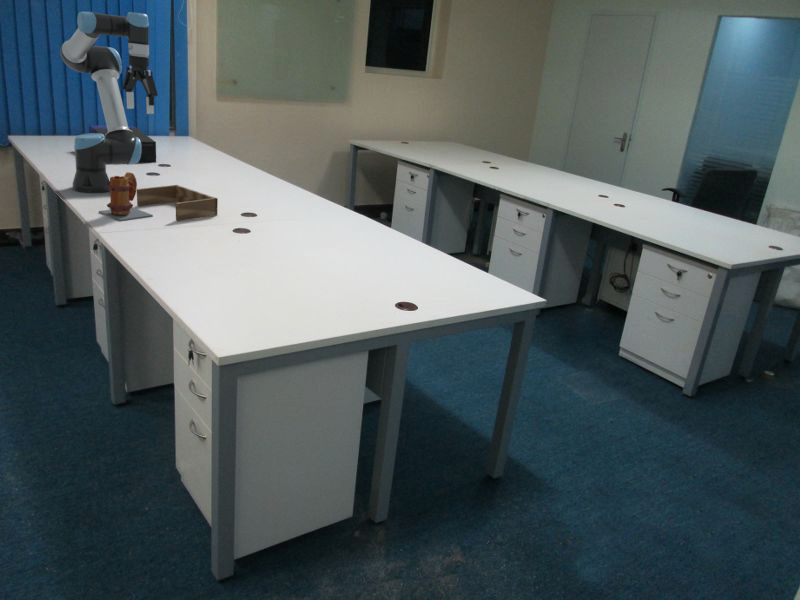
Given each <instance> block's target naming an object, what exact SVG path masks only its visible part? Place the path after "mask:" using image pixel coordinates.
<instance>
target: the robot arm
mask: <svg viewBox="0 0 800 600" xmlns="http://www.w3.org/2000/svg"><path fill="white" fill-rule="evenodd" d="M76 23H77V29H76V31H74V33H73V35H72V36H70V37H71V38H69V39H68V40H66V41H64V42H63V44H62V45H61V47H60V50H59V51H60V52H59V53H60V57H61V60H62V61H63V63H64V64H65V65H66V66H67V67H68V68H69V69H71V70H73V71H75V72H77V73H84V74H90V76H91V79H92V81H94V82H96V86H97V91H98V95H99V98H100V99H99V100H100V102H101V103H100V104H101V109H102V112H103V115H104V121H105V124H106V125H105V126H107V129H108V132H107V133H106V135H105V136H104V135H103V134H101V133H89V132H88V133H82V134H77V136H76V137H75V138H74V145H73V146H74V147H73V149H74V157H75V173H74V178H73V181H72V189H73V190H74V191H76V192H81V193H97V194H98V193H99V194H100V193H105V192H106V193H107V192H110V190H109V189H108V188H107V187H106V186H107V185H109V184H110V177H109V176H108V173H107V165H108V166H109V165H110V166H112V165H127V166H128V165H136V164H137V163H138V162H139V160H140V157H141V141H140V139H139V138H138V137H134V134H133V132H132V131H131V130H129V128H128V126H129V125H128V120H127V116H126V113H125V112H126V111H125V108H124V104H123V103H124V102H123V99H122V95H121V92H120V87H119V83H118V80H119V78H120V75H121V74H122V71H123V66H122V64H123V62H122V58H121V55H120V54H119V52H118V51H117V50H116V49H115V48H113V47H109V46H105V45H103V46H102V45H101V46H99V45H94V44H95V43H96V41H97V40H98V39H99V38H100V36H101V35H103V36H112V37H114V36H115V37H121V38H122V37H123V38H127V42H128V45H127V47H128V53H129V55H128V65H130V66H127V65H126V68H125V70H126V71H125V77H124V80H123V83H122V87H121V88H122V90H125V92H126V93H125V95H126V109H128V110H130V109H133V110H134V109H135V97H134V88H135V86H136V84H137V82H138V81H139V82H140V83H141V84H142V86H143V88H144V90H145V93H146V100H145V101H146V115H154V114H155V97H158V95H159V94H158V91H157V87H156V83H155V80H154V76H153V75H154V74H153V71H152V70H148V68H149V67H150V58H149V56H150V42H149V40H150V36H149V31H150V29H149V28H150V24H149V16H148V15H147V14H146V13H141V12H133V11H129V12H128V13H127V16H124V15H123V16H122V15H114V14H106V13H99V12H92V11H79V12H78V14H77V19H76ZM138 164H139V163H138Z"/></svg>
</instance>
